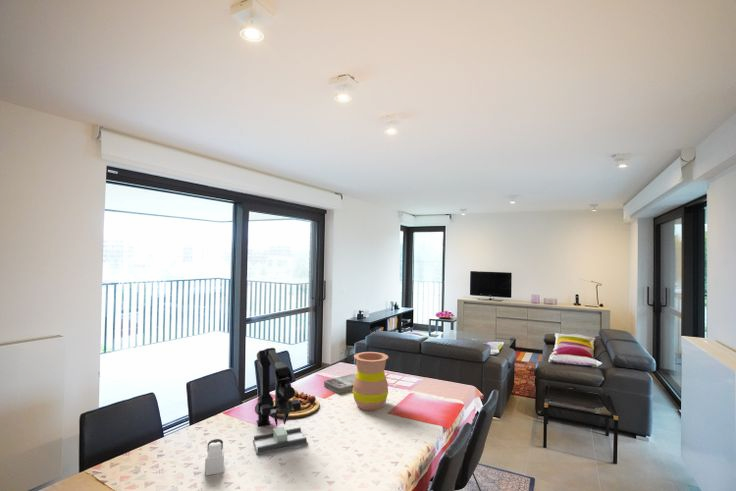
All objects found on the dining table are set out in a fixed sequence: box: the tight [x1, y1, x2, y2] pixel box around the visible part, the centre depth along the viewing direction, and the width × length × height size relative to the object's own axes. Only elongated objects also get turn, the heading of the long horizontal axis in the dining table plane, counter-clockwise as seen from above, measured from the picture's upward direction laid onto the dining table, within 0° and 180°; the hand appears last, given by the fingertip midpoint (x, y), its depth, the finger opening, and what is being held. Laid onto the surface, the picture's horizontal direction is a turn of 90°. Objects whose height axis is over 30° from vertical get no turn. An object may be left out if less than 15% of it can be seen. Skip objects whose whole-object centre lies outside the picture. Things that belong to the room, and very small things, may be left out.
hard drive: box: [323, 373, 357, 395], centre depth 258 cm, size 18×27×4 cm
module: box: [273, 426, 288, 443], centre depth 179 cm, size 8×5×4 cm, turn 27°
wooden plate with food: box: [271, 389, 321, 420], centre depth 221 cm, size 32×32×8 cm
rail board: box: [252, 427, 308, 456], centre depth 179 cm, size 13×24×3 cm, turn 115°
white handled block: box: [204, 438, 225, 476], centre depth 156 cm, size 7×7×12 cm
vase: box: [352, 351, 389, 412], centre depth 226 cm, size 22×22×30 cm
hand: (280, 424), depth 179 cm, fingers open, 3 cm apart
